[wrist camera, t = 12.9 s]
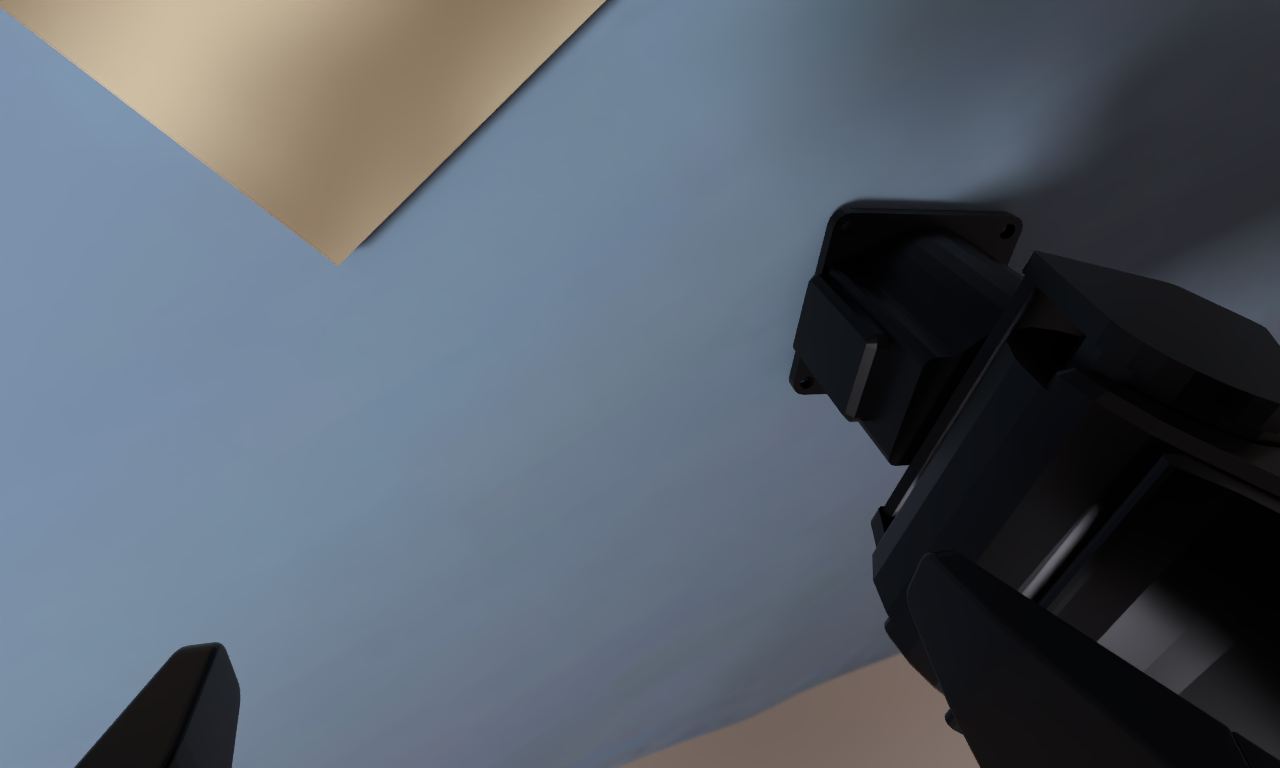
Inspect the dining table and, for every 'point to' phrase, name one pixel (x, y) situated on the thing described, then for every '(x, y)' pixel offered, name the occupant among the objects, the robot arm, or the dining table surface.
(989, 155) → the dining table surface
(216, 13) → the plate
